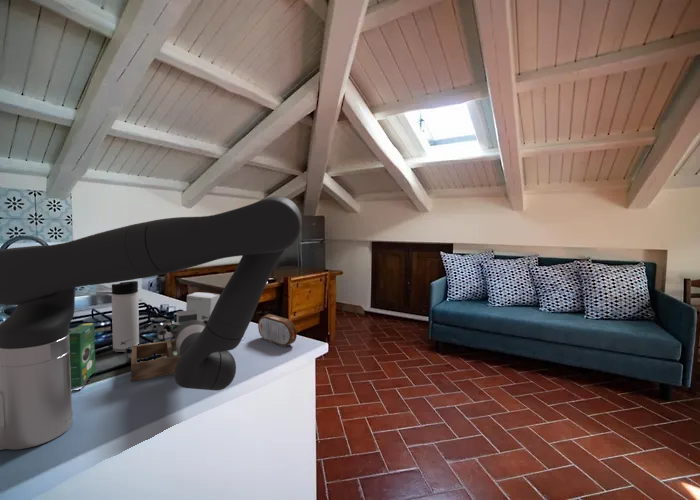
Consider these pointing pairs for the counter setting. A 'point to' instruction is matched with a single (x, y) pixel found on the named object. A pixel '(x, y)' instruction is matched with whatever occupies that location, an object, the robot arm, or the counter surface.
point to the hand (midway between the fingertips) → (186, 320)
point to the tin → (277, 329)
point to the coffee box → (82, 353)
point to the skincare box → (202, 303)
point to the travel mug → (125, 315)
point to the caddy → (153, 366)
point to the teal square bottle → (185, 318)
